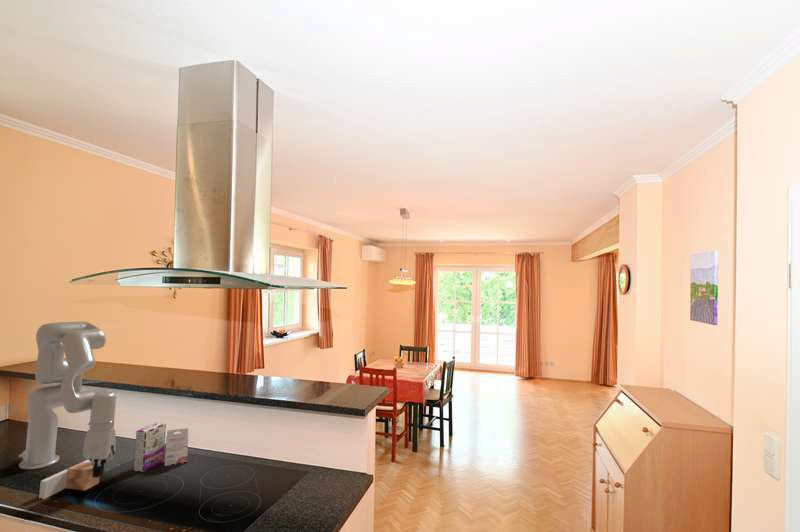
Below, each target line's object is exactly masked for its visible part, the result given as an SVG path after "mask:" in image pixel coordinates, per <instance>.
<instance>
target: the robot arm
mask: <svg viewBox="0 0 800 532" xmlns="http://www.w3.org/2000/svg"><path fill="white" fill-rule="evenodd" d="M106 339H107V338H106V335H105V333H104V331H103V330H102V329H101V328H100V327H98V326H96V325H94V324H93V323H91V322H89V321H61V322H60V321H59V322H49V323H44V324H42V325H40V326H39V327H38V329H37V331H36V335H35V341H36V345H37V349H38V351H37V352H38V354H37V360H36V368H35V381H36V382H37V383H38V384H44V385H45V384H51V385H46V386H41V387H36V388H35V389H33V390H32V391H30V392H28V394H27V399H26V403H27V408H28V409H27V410H28V411H27V412H28V422H27V432H26V433H27V434H26V443H25V450H23V451H22V453H20V454H19V455H18V458H21V459H22V461H20V462H19V464H18V468H19V469H22V470H36V469H43V468H45V467H49V466H52V465H54V464H56V463H58V462H59V461H60V456H59V455H57V454H56V446H57V445H56V444H57V435H58V426H59V418H58V415H57V414H56V413H55V412H54V411H53V409H56V408H60V407H63V408H64V409H65V411H66V412H67V413H68V414H78V413H82V412H86V411H87V412H88V411H90V415H89V416H90V418H89V421H88V426H89V428H88V430H87V432H86V434H85V438H84V442H83V447H82V457H83V458H85V460H90V461H91V463H92V466H93V476H92V477H95V478H97V477H99V476H100V477H101V476H103V475H104V473H105V471H104V470H105V464H107V463H108V462H111V461H113V460H114V455H116V454H115V453H116V448H117V438H116V430H115V417H116V404H117V402H116V401H117V394H116V392H114V391H109V390H108V389H106V388H104V387H103V388H102V387H100V388H93V389H88V390H83V391H82V383H83V374H84V373H86V372H89V370H91V369H93V368H95V367H96V364H97V363H96V361H97V360H96V357H95V354H94V352H93V350H98V349H101V348H103V347H104V346H105V345H106V342H107V340H106ZM64 357H65V358H64ZM54 383H55V384H54ZM56 383H58V384H56ZM52 384H53V385H52Z"/></svg>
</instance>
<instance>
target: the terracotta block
mask: <svg viewBox="0 0 800 532" xmlns="http://www.w3.org/2000/svg"><path fill="white" fill-rule="evenodd" d="M79 463H80V464H79ZM79 463H78V464H75V466H74V465H72V466H73V467H71V466H70V467H71V468H69V467H68V471H67V483H66V488H65V489H70V490H76V491H84V492H85V491H87V490H89V489H91V488H93V487H94V486H97V485H99V483H100V478H101V476H99V477H97V478H95V477H92V476H93V466H92V463H85V462H84V461H82V463H81V462H79Z"/></svg>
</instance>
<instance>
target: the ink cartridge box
mask: <svg viewBox="0 0 800 532" xmlns="http://www.w3.org/2000/svg"><path fill="white" fill-rule="evenodd" d="M188 445H189V428H188V427H187V428H178V429H168V430H167V431H166V436H165V448H164V466H165V467H167V466H173V465H172V464H174V465H178V464H177V463H181V464H184V463H183V462H187V461H188V452H189V451H188V449H189V446H188Z"/></svg>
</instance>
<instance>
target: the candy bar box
mask: <svg viewBox="0 0 800 532" xmlns="http://www.w3.org/2000/svg"><path fill="white" fill-rule="evenodd" d="M166 426H167V424H166V423H165V422H155V423H153V424H150V425H147V426H145V427H143V428H140V429H137V430H136V431H135V434H136V435H135V449H134V463H133V466H134V467H133V471H134V472H138V471H140V472H139V473H144V471H145V472H146V471H148V470H150V469H152V468H155V466H158V465H159V464H161V463H163V462H165V447H166Z"/></svg>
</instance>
